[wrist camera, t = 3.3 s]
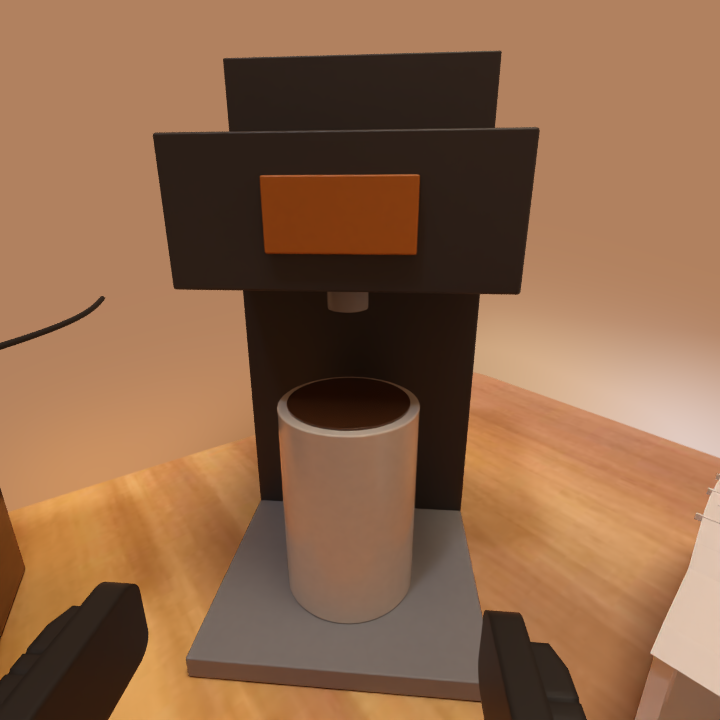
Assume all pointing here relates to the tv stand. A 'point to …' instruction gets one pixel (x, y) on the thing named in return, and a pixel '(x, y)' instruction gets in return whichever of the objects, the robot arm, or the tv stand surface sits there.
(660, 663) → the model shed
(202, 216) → the coffee machine
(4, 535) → the brown box
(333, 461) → the white cup
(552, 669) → the robot arm
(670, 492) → the tv stand surface
